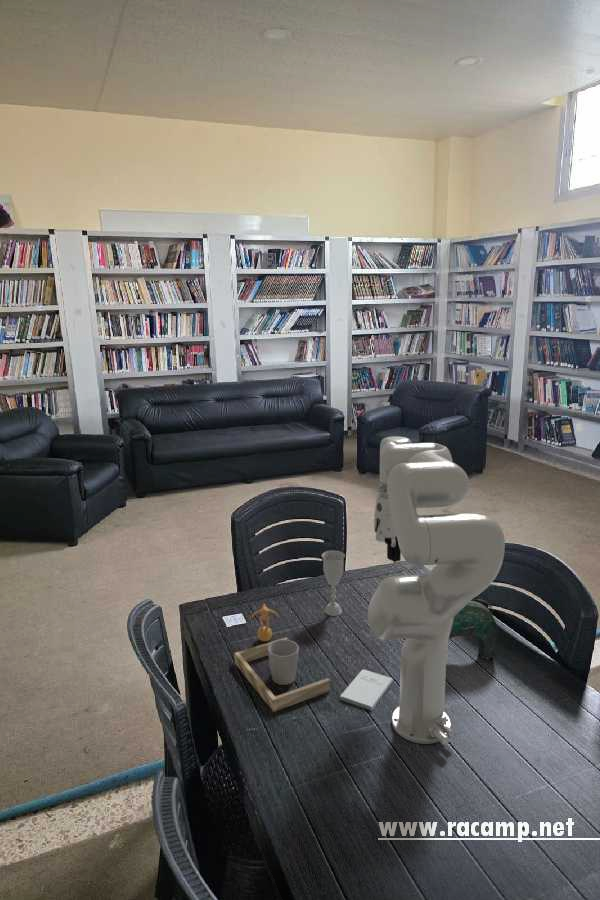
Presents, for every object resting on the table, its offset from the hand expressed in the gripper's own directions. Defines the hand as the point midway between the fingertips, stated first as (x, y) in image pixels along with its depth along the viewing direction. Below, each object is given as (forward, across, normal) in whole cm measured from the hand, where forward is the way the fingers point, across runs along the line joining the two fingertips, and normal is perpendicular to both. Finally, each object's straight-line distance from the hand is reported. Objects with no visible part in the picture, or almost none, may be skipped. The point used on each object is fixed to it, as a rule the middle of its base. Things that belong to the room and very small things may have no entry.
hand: (393, 559), depth 153 cm
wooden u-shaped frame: (+28, -27, +10) cm, 40 cm away
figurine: (+28, -23, +25) cm, 44 cm away
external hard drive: (+29, -13, -6) cm, 32 cm away
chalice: (+28, +2, +29) cm, 40 cm away
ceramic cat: (+28, +15, -8) cm, 33 cm away
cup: (+28, -27, +10) cm, 40 cm away
